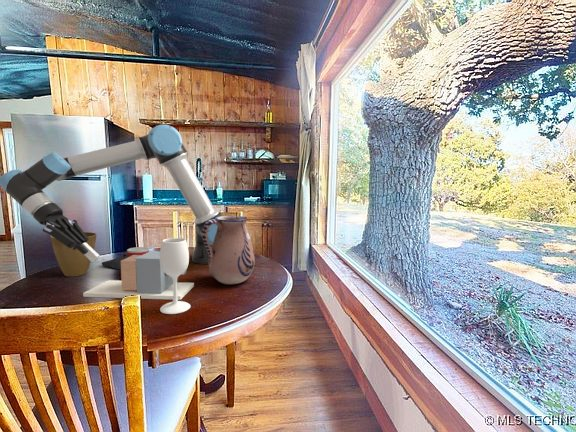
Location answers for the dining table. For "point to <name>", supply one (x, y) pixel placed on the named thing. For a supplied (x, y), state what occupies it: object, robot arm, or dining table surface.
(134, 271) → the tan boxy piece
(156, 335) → the dining table surface
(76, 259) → the plant pot
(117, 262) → the dark slate chunk
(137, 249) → the canned food
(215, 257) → the ceramic pitcher
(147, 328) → the dining table surface
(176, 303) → the wineglass
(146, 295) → the bearing block
